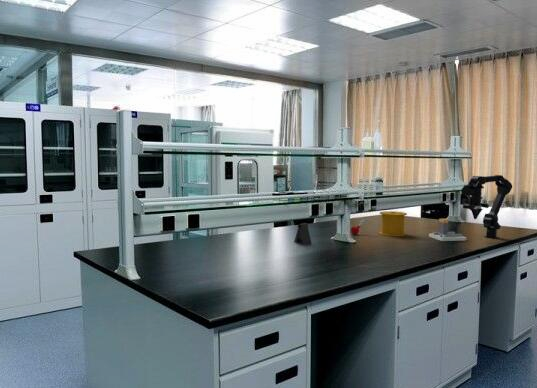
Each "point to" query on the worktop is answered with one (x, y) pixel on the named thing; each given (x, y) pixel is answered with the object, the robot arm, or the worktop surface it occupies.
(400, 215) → the spool
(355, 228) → the molecular model
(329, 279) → the worktop surface
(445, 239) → the white rail base plate
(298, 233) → the phone stand
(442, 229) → the breaker handle
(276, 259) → the worktop surface
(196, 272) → the worktop surface
